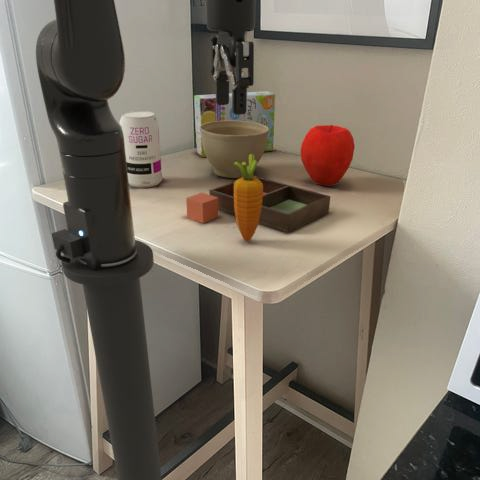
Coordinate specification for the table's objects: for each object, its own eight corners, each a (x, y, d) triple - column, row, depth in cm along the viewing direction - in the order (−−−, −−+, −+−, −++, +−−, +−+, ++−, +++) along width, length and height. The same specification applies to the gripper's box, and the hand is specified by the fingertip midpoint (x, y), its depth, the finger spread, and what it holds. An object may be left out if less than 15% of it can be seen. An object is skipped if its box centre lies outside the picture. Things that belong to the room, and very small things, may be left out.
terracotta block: (203, 223, 95) (202, 203, 93) (187, 217, 98) (186, 197, 95) (218, 217, 98) (218, 197, 96) (202, 211, 100) (202, 192, 98)
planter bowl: (245, 187, 113) (246, 138, 107) (188, 175, 120) (186, 128, 114) (278, 170, 125) (280, 125, 119) (224, 160, 132) (224, 117, 126)
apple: (293, 189, 113) (298, 127, 105) (303, 174, 122) (308, 117, 115) (345, 195, 110) (354, 132, 103) (351, 179, 119) (360, 121, 112)
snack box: (265, 146, 145) (267, 90, 136) (273, 151, 140) (276, 93, 132) (195, 152, 138) (193, 93, 130) (201, 158, 134) (200, 97, 125)
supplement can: (150, 175, 120) (144, 109, 112) (169, 183, 115) (164, 115, 107) (120, 181, 116) (111, 113, 107) (138, 190, 110) (131, 119, 102)
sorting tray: (287, 233, 92) (288, 215, 90) (209, 207, 103) (209, 190, 101) (328, 213, 101) (330, 196, 99) (253, 191, 111) (253, 175, 109)
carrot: (245, 250, 85) (247, 162, 77) (227, 241, 88) (227, 155, 80) (266, 243, 88) (270, 157, 80) (248, 234, 91) (250, 150, 83)
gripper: (194, -7, 79) (197, 103, 88) (222, -6, 68) (222, 118, 77) (238, -6, 82) (237, 101, 90) (272, -6, 70) (267, 116, 79)
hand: (230, 109), depth 84 cm, fingers open, 8 cm apart
